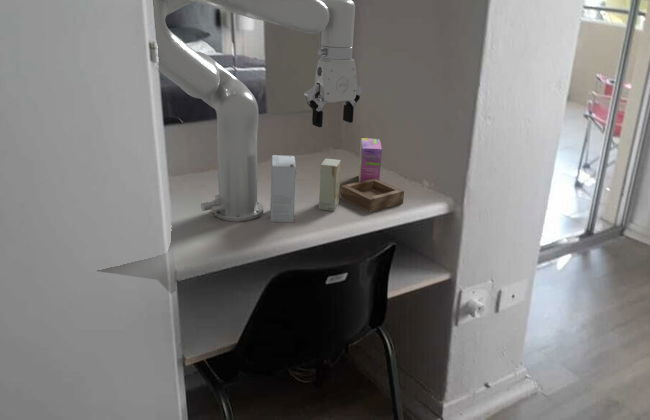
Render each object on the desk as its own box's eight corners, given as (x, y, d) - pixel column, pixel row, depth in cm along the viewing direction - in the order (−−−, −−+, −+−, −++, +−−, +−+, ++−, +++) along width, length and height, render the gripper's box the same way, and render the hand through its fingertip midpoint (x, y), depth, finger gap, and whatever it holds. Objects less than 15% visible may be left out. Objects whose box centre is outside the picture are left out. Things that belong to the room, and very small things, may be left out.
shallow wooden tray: (369, 212, 155) (370, 199, 154) (340, 197, 164) (341, 185, 162) (403, 203, 162) (404, 191, 161) (373, 189, 171) (374, 178, 169)
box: (379, 188, 172) (382, 148, 167) (359, 187, 172) (361, 147, 167) (377, 176, 181) (380, 138, 177) (358, 175, 181) (360, 137, 177)
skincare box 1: (270, 209, 154) (270, 154, 148) (293, 209, 155) (294, 154, 149) (270, 223, 146) (270, 165, 141) (295, 223, 147) (296, 165, 141)
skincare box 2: (334, 211, 154) (337, 166, 150) (318, 209, 155) (320, 164, 150) (339, 202, 160) (341, 159, 156) (323, 201, 161) (325, 157, 156)
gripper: (316, 57, 135) (313, 131, 142) (374, 54, 145) (368, 123, 152) (297, 53, 141) (295, 124, 147) (354, 49, 151) (349, 116, 157)
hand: (332, 123), depth 149 cm, fingers open, 9 cm apart
